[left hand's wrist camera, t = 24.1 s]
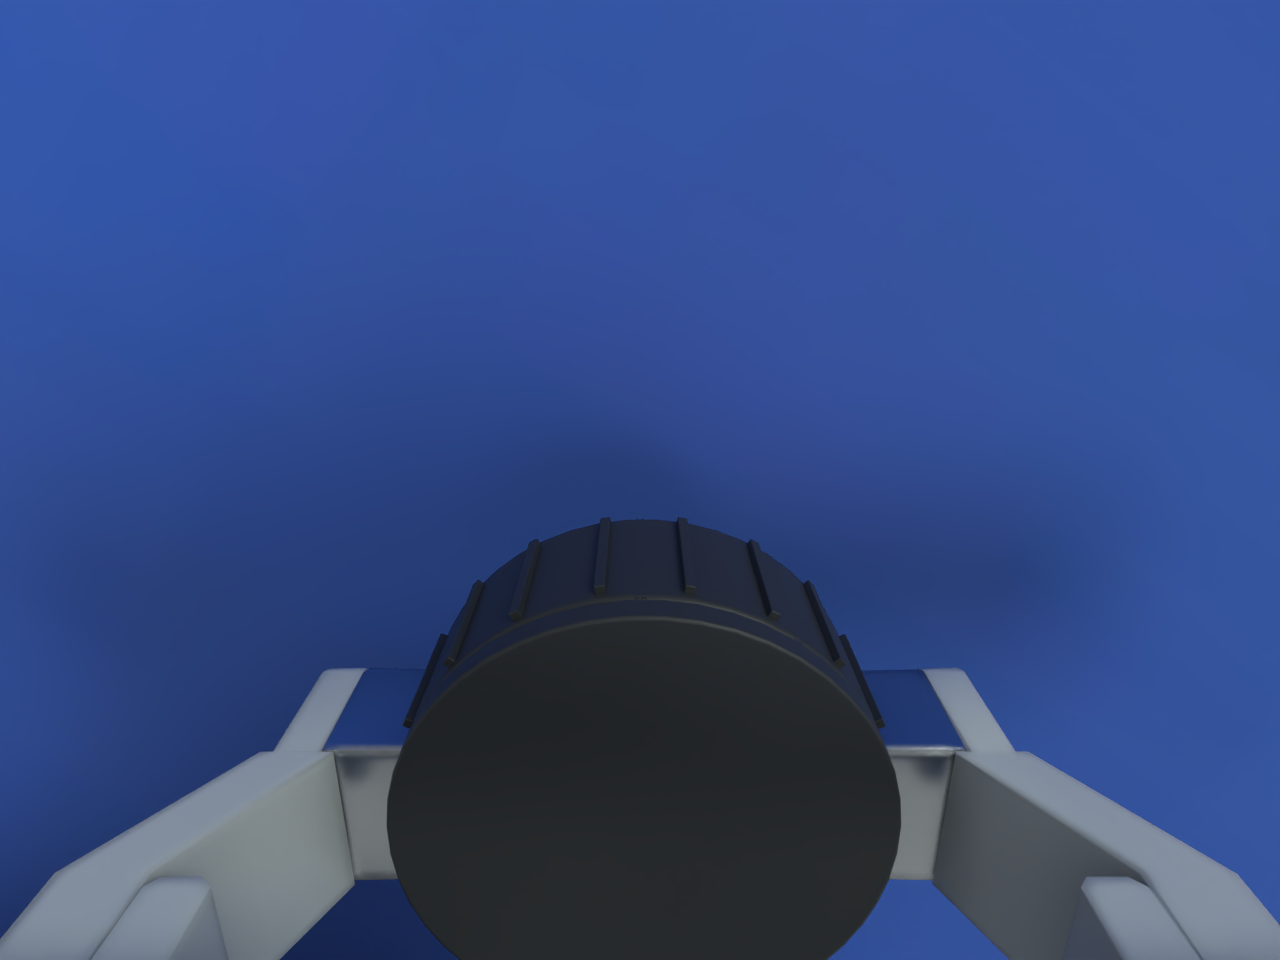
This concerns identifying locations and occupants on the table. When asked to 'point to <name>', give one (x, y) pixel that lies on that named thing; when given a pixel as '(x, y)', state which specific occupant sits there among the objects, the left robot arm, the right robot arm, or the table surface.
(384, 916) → the table surface
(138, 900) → the left robot arm
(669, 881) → the lid
